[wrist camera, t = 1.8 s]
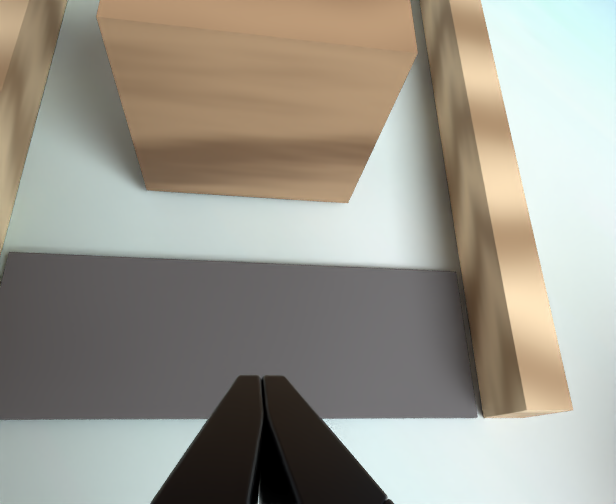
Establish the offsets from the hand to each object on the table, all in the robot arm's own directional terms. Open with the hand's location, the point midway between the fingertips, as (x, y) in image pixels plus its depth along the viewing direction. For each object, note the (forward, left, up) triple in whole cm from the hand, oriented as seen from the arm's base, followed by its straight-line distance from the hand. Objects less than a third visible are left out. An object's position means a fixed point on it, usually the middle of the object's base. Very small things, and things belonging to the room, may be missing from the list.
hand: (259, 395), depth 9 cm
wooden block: (+12, -7, -13) cm, 19 cm away
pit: (+4, -2, -13) cm, 13 cm away
